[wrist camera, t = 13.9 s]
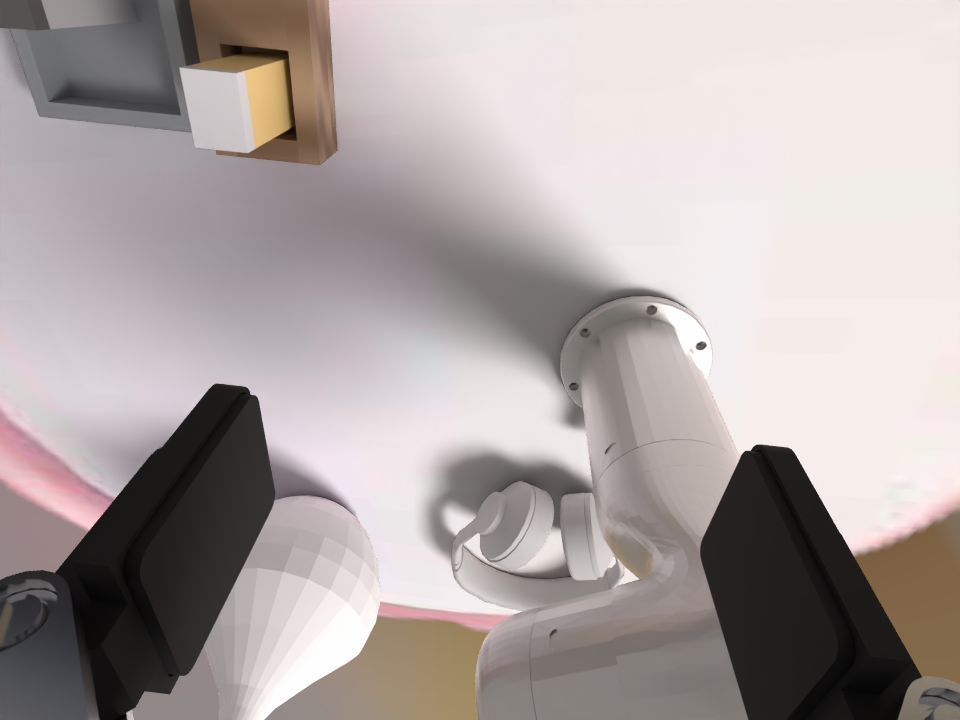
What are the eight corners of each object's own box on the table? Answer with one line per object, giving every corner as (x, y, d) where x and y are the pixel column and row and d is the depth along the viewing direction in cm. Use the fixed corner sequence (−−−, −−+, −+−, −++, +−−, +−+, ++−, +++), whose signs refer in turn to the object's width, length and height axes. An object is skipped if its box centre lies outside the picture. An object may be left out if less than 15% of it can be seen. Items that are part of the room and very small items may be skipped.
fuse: (302, 121, 39) (248, 153, 31) (259, 116, 39) (195, 147, 31) (296, 55, 36) (236, 73, 29) (251, 51, 36) (179, 67, 29)
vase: (219, 462, 60) (-3, 799, 35) (388, 471, 58) (284, 827, 34) (257, 569, 70) (106, 889, 45) (402, 579, 69) (329, 913, 44)
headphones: (469, 454, 55) (449, 554, 69) (459, 523, 50) (439, 618, 63) (650, 484, 56) (595, 578, 69) (661, 556, 50) (599, 644, 63)
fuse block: (337, 150, 41) (319, 165, 37) (242, 140, 41) (216, 154, 37) (319, -143, 32) (295, -158, 28) (198, -154, 32) (158, -170, 28)
